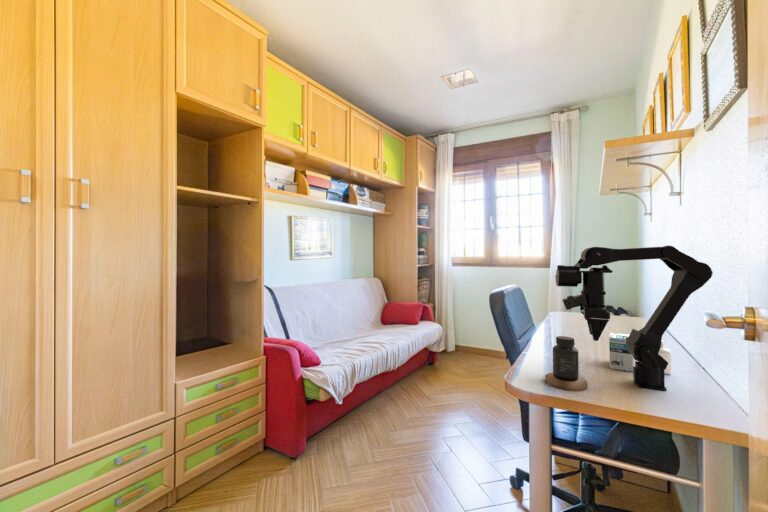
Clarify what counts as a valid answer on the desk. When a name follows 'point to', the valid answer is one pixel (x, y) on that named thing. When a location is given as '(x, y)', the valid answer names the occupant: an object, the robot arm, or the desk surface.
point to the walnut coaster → (566, 383)
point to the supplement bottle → (565, 359)
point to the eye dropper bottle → (665, 357)
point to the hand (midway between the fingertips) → (593, 337)
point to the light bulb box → (620, 352)
